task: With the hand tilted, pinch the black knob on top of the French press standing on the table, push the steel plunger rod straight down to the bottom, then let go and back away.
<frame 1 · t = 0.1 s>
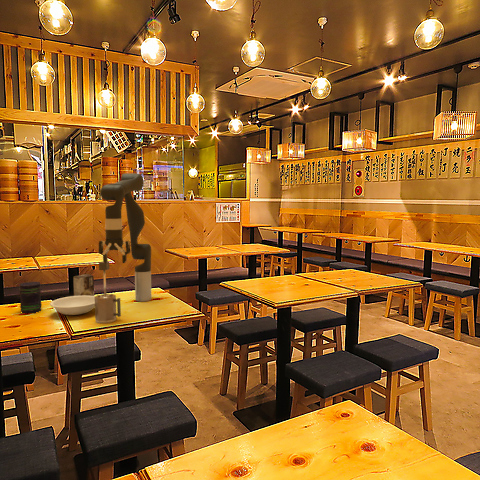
hand: (114, 262, 181), 29 cm above the table, tool pointing down, fingers open, 8 cm apart
plunger: (104, 280, 187), point 20 cm above the table, slide at 0.0 cm
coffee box: (84, 303, 220), on the table
press: (106, 320, 189), on the table
soup bowl: (76, 313, 201), on the table
storage jar: (31, 311, 204), on the table
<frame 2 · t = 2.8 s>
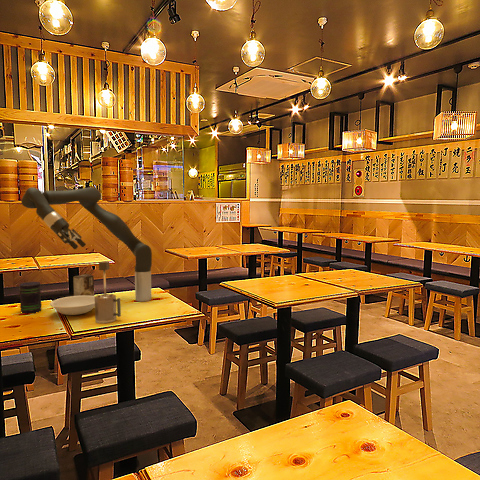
hand: (80, 247, 186), 36 cm above the table, tool tilted 45°, fingers open, 8 cm apart
nothing on the table moved.
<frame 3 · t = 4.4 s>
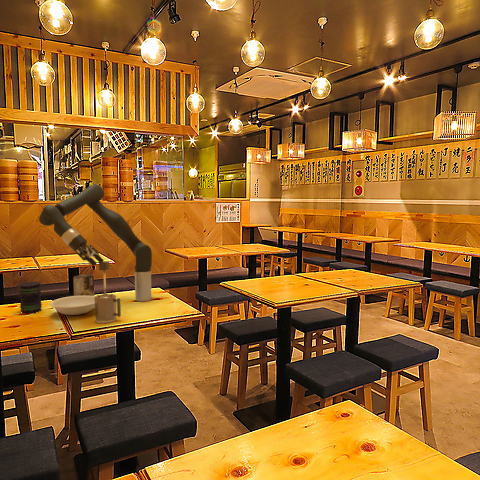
hand: (98, 263, 186), 28 cm above the table, tool tilted 45°, fingers open, 8 cm apart
nothing on the table moved.
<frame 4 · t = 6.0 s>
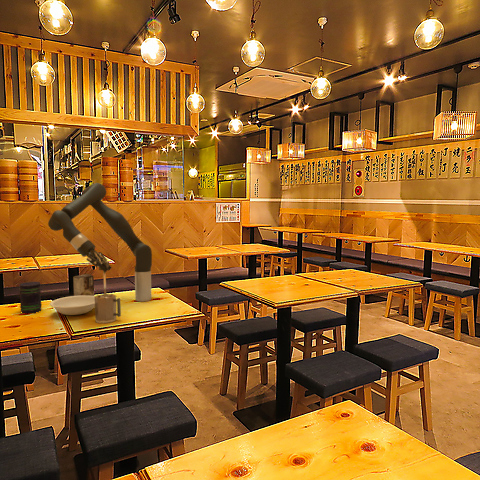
hand: (108, 269, 187), 25 cm above the table, tool tilted 45°, fingers closed on plunger, 3 cm apart
plunger: (104, 280, 187), point 20 cm above the table, slide at 0.0 cm, touching gripper
everything else where it was.
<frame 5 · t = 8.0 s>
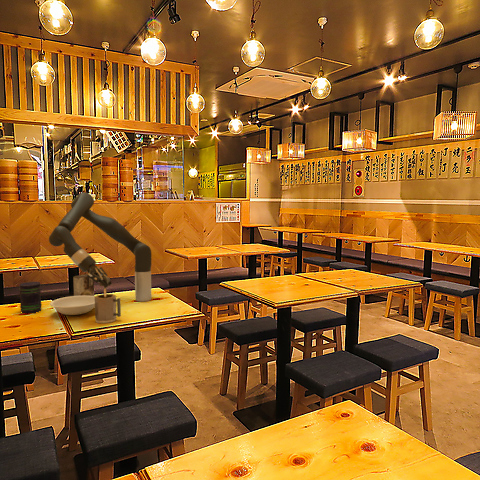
hand: (108, 285, 187), 17 cm above the table, tool tilted 45°, fingers closed on plunger, 3 cm apart
plunger: (105, 295, 188), point 12 cm above the table, slide at 7.6 cm, touching gripper
everything else where it was.
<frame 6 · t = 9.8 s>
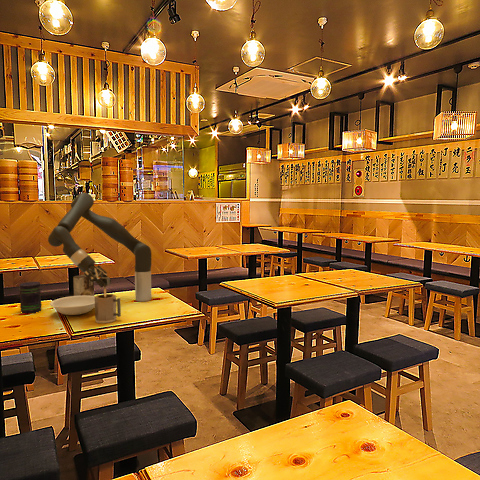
hand: (106, 284, 187), 18 cm above the table, tool tilted 45°, fingers open, 8 cm apart
plunger: (105, 296, 188), point 12 cm above the table, slide at 7.7 cm
everything else where it was.
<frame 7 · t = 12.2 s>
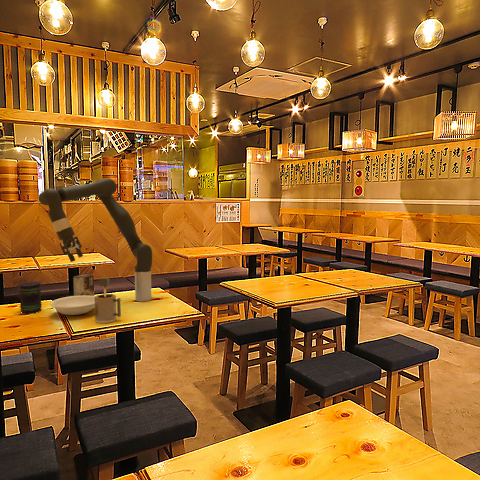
hand: (77, 259, 191), 29 cm above the table, tool tilted 20°, fingers open, 8 cm apart
nothing on the table moved.
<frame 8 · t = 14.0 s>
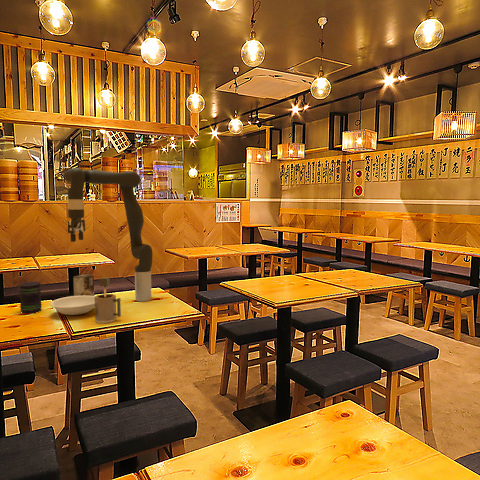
hand: (77, 240, 195), 38 cm above the table, tool pointing down, fingers open, 8 cm apart
nothing on the table moved.
at the end: plunger slide at 7.7 cm; the gripper is holding nothing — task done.
